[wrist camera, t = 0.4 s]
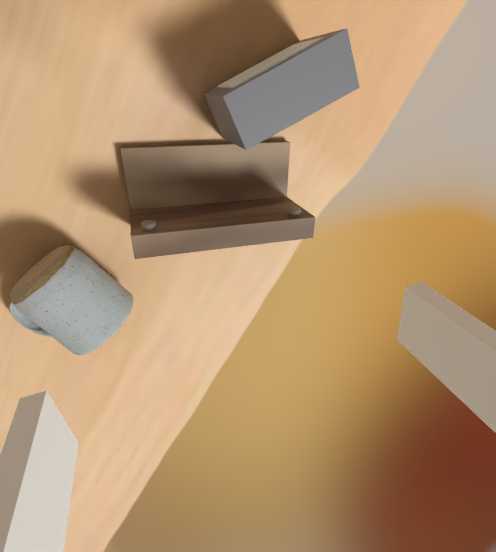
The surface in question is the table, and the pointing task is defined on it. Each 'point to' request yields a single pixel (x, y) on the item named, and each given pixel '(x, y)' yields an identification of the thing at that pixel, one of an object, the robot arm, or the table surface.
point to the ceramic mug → (70, 300)
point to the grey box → (283, 89)
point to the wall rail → (210, 197)
